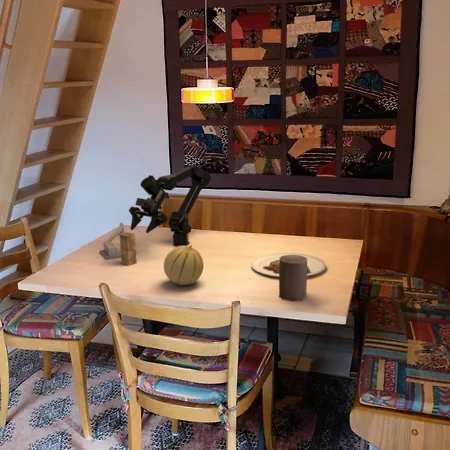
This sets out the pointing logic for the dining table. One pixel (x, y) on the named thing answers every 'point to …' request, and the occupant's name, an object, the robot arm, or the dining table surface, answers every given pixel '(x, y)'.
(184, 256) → the cantaloupe
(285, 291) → the pillar candle
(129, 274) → the dining table surface
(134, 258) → the walnut post
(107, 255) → the grey box
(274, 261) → the plated food
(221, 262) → the dining table surface
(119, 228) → the caliper
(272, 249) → the dining table surface
